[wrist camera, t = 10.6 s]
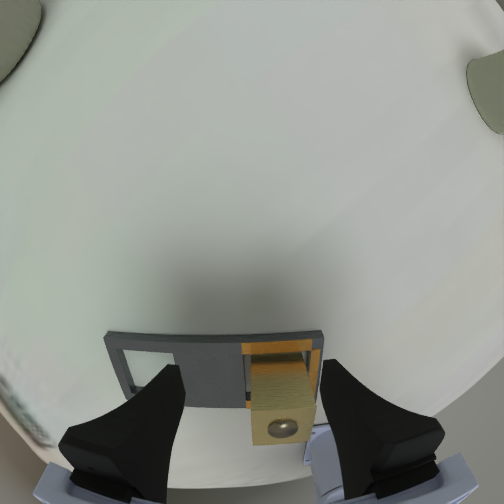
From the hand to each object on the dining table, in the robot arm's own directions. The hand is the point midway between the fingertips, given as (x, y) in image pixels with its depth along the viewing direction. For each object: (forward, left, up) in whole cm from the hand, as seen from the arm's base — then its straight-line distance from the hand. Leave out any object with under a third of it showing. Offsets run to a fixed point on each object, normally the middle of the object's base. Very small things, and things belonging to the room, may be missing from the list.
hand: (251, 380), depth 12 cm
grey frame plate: (-8, +4, -10) cm, 13 cm away
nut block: (-7, -2, -10) cm, 13 cm away
